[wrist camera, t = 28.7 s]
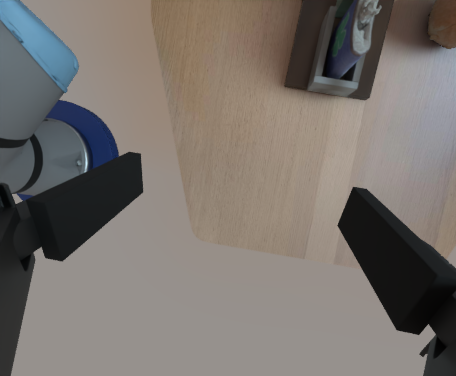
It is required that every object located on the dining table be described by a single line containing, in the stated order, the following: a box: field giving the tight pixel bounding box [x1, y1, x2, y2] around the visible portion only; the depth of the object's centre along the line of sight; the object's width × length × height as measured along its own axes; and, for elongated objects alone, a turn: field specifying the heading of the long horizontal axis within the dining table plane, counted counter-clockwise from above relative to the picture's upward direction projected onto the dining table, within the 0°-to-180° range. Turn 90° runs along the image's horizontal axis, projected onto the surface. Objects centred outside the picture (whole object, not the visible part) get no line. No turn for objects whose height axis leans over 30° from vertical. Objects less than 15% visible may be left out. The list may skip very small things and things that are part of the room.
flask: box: [325, 0, 382, 79], centre depth 30 cm, size 9×3×11 cm, turn 171°
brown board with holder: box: [285, 0, 394, 100], centre depth 30 cm, size 14×22×11 cm, turn 169°
